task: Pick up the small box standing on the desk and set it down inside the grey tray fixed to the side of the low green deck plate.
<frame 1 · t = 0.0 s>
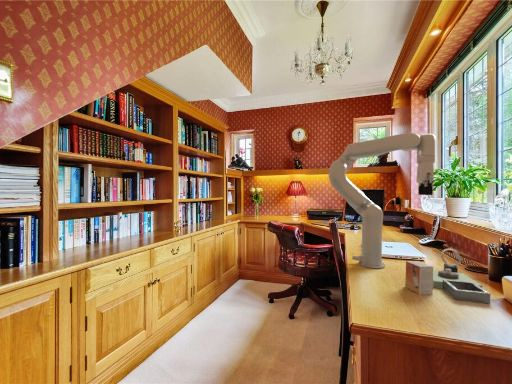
hand: (425, 194, 129), 37 cm above the table, tool pointing down, fingers open, 9 cm apart
small box: (418, 291, 102), on the table
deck: (449, 282, 111), on the table
grey tray: (464, 295, 97), on the table
watch: (450, 272, 126), on the table
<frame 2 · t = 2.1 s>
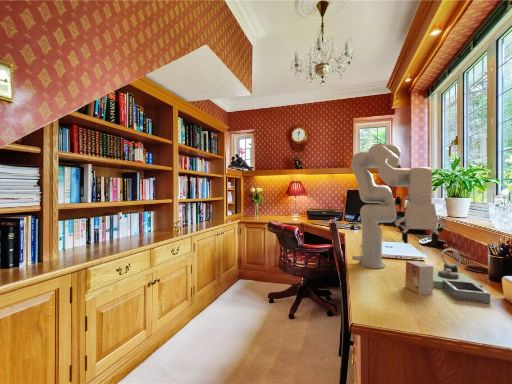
hand: (419, 243, 101), 18 cm above the table, tool pointing down, fingers open, 9 cm apart
nothing on the table moved.
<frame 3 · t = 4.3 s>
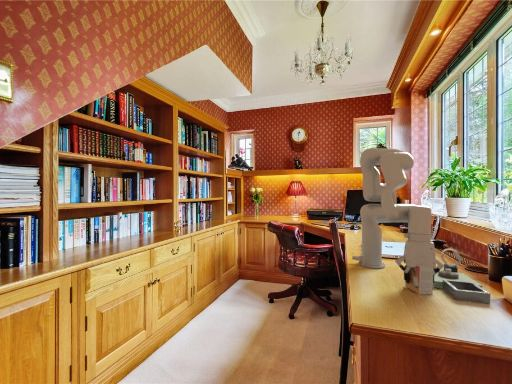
hand: (418, 283, 102), 3 cm above the table, tool pointing down, fingers closed on small box, 7 cm apart
small box: (418, 291, 102), on the table, touching gripper
everything else where it was.
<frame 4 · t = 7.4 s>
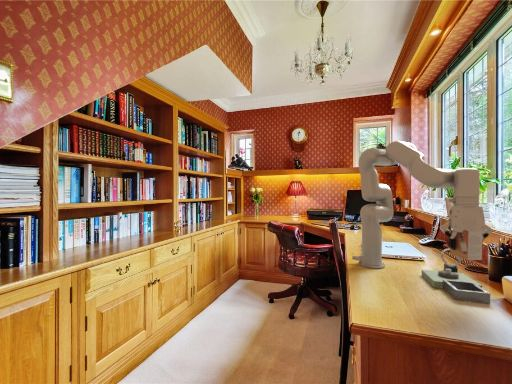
hand: (465, 249, 97), 17 cm above the table, tool pointing down, fingers closed on small box, 7 cm apart
small box: (465, 257, 97), point 14 cm above the table, touching gripper
everything else where it was.
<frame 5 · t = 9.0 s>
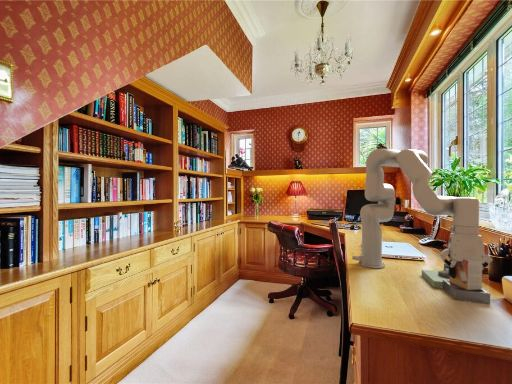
hand: (464, 278, 97), 6 cm above the table, tool pointing down, fingers closed on small box, 7 cm apart
small box: (465, 286, 97), point 3 cm above the table, touching gripper
everything else where it was.
when the fingers open (5 cm above the table, at t = 10.4 s): small box drops 2 cm, resting in grey tray.
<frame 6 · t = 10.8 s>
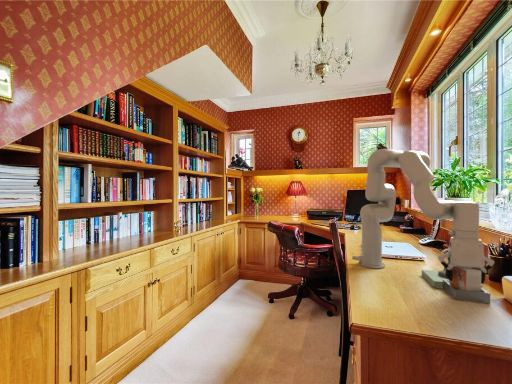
hand: (464, 281, 97), 5 cm above the table, tool pointing down, fingers open, 9 cm apart
small box: (464, 296, 97), resting in grey tray
everything else where it was.
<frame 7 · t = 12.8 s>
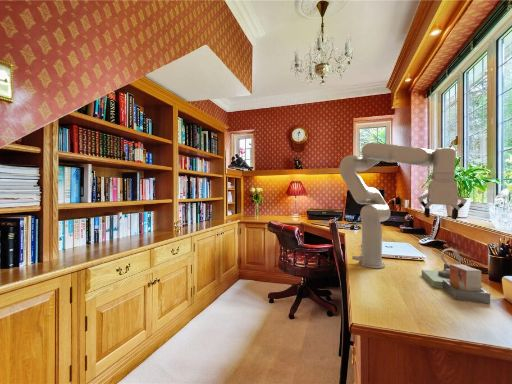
hand: (440, 218, 111), 27 cm above the table, tool pointing down, fingers open, 9 cm apart
nothing on the table moved.
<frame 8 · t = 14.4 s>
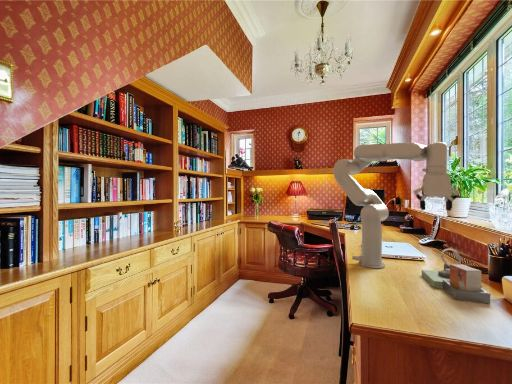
hand: (435, 210, 116), 30 cm above the table, tool pointing down, fingers open, 9 cm apart
nothing on the table moved.
at the end: small box 0.1 cm off-centre on the grey tray, point 0.0 cm above the grey tray's base; small box tilted 0°; the gripper is holding nothing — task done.
